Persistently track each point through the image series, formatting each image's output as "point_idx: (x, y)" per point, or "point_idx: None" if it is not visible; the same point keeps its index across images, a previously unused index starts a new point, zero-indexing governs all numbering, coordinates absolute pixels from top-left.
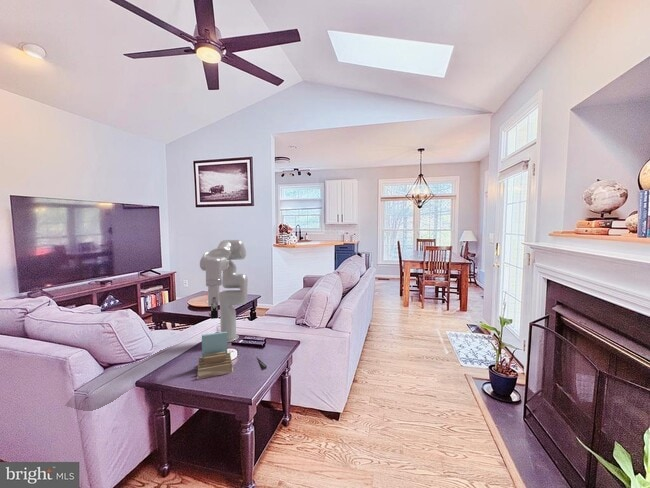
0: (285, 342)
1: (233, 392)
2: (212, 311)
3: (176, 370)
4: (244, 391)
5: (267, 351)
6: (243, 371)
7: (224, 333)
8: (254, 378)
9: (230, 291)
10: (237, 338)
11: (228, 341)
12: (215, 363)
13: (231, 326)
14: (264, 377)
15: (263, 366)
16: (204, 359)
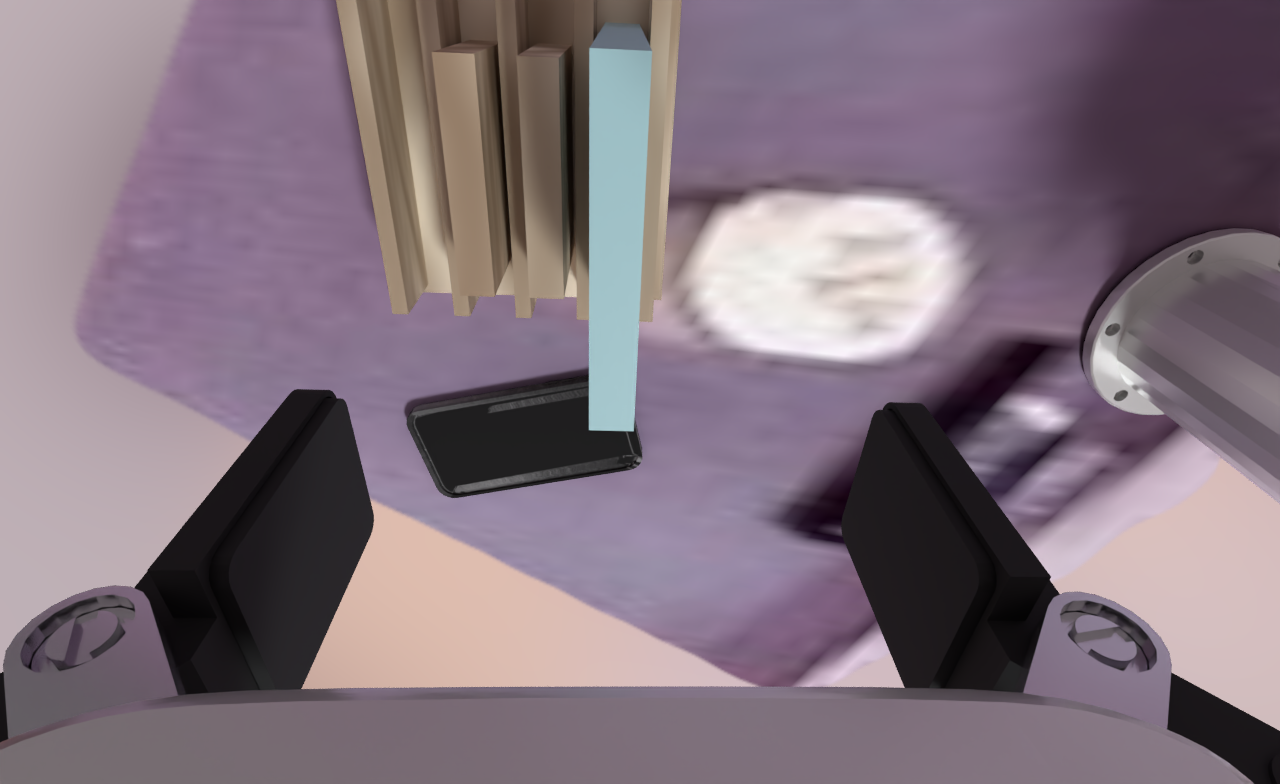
0: (790, 643)
1: (134, 253)
2: (184, 589)
3: None
4: (144, 323)
5: (708, 537)
6: (445, 355)
7: (589, 396)
8: None
9: None
10: (1103, 398)
11: (1098, 319)
12: (443, 170)
13: (1222, 429)
14: None
15: (462, 481)
16: (436, 55)
